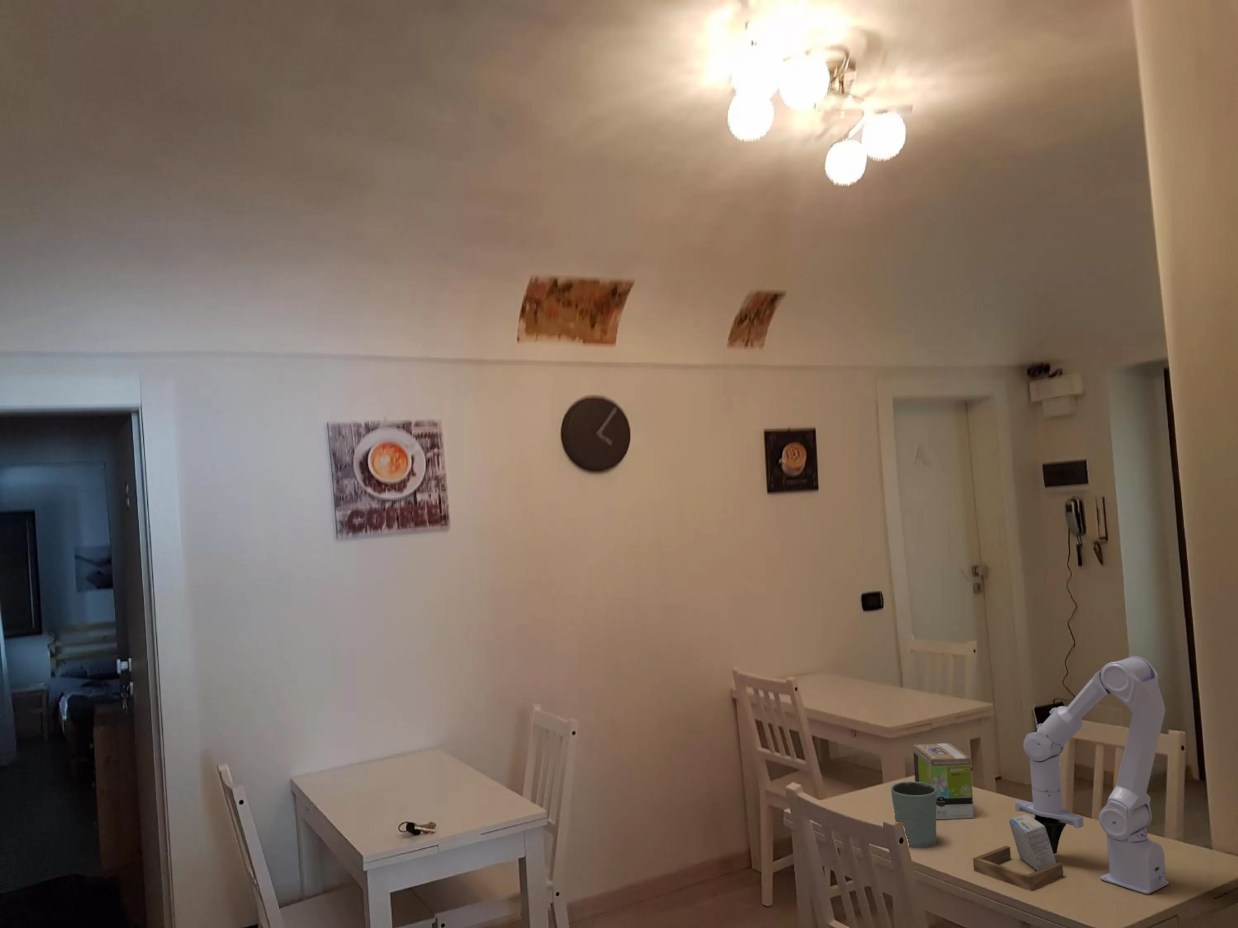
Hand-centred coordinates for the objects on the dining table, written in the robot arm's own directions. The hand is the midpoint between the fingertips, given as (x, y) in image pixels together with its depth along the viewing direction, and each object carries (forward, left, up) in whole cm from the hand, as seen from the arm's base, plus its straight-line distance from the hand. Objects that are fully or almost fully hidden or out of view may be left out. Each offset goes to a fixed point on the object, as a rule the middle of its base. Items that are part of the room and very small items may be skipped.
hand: (1051, 852), depth 196 cm
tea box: (+35, -9, -2) cm, 36 cm away
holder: (0, +11, -1) cm, 11 cm away
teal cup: (+25, +13, -2) cm, 28 cm away
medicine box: (0, +4, -1) cm, 5 cm away
